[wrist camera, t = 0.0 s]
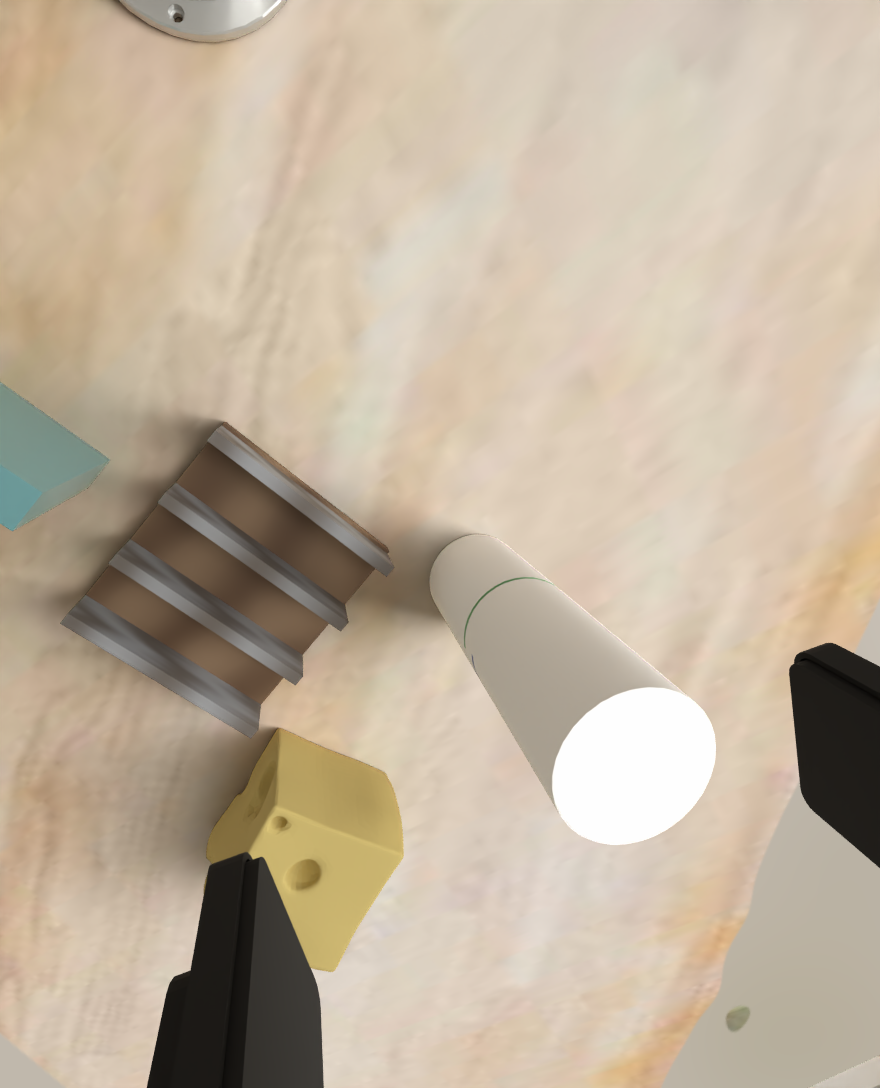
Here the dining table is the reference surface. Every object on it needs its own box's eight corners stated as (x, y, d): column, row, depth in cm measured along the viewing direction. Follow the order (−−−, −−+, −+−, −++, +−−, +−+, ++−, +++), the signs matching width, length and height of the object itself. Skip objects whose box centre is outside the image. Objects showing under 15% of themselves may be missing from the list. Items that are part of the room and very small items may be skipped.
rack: (81, 600, 44) (58, 625, 40) (225, 421, 43) (217, 427, 39) (253, 706, 49) (249, 740, 44) (386, 547, 48) (396, 565, 43)
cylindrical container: (446, 637, 51) (576, 871, 27) (416, 554, 48) (531, 730, 25) (530, 603, 51) (729, 802, 28) (505, 520, 49) (698, 660, 26)
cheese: (209, 829, 51) (189, 934, 41) (279, 716, 50) (274, 798, 40) (327, 872, 54) (333, 979, 44) (395, 767, 53) (416, 854, 43)
